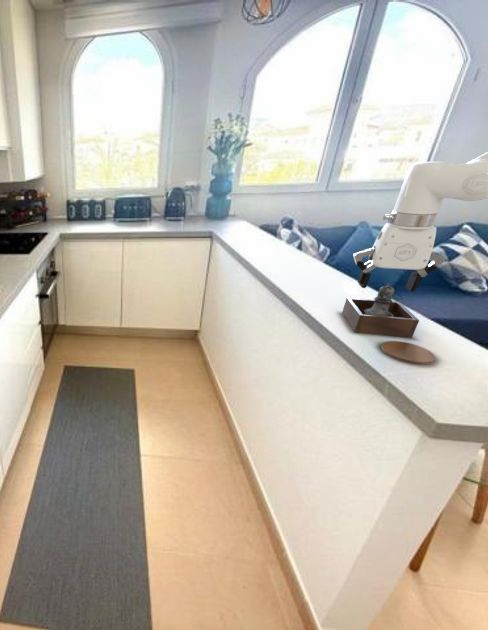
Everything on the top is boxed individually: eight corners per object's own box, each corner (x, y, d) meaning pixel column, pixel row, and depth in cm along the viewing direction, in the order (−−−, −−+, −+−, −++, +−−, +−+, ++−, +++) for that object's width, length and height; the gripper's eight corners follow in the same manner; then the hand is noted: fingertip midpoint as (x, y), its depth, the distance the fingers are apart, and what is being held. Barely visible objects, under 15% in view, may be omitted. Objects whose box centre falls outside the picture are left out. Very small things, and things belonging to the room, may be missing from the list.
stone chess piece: (354, 321, 94) (368, 280, 89) (374, 319, 94) (388, 278, 89) (374, 331, 89) (389, 288, 84) (394, 328, 89) (411, 285, 84)
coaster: (422, 346, 81) (423, 344, 81) (442, 367, 74) (443, 364, 74) (375, 341, 85) (376, 339, 84) (389, 360, 77) (390, 358, 77)
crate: (392, 318, 94) (399, 301, 92) (411, 338, 85) (419, 320, 83) (341, 313, 99) (346, 297, 96) (354, 332, 89) (360, 315, 87)
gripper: (371, 222, 80) (348, 290, 87) (471, 224, 73) (437, 297, 81) (360, 216, 86) (340, 280, 93) (452, 217, 80) (422, 285, 87)
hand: (385, 287), depth 87 cm, fingers open, 9 cm apart
